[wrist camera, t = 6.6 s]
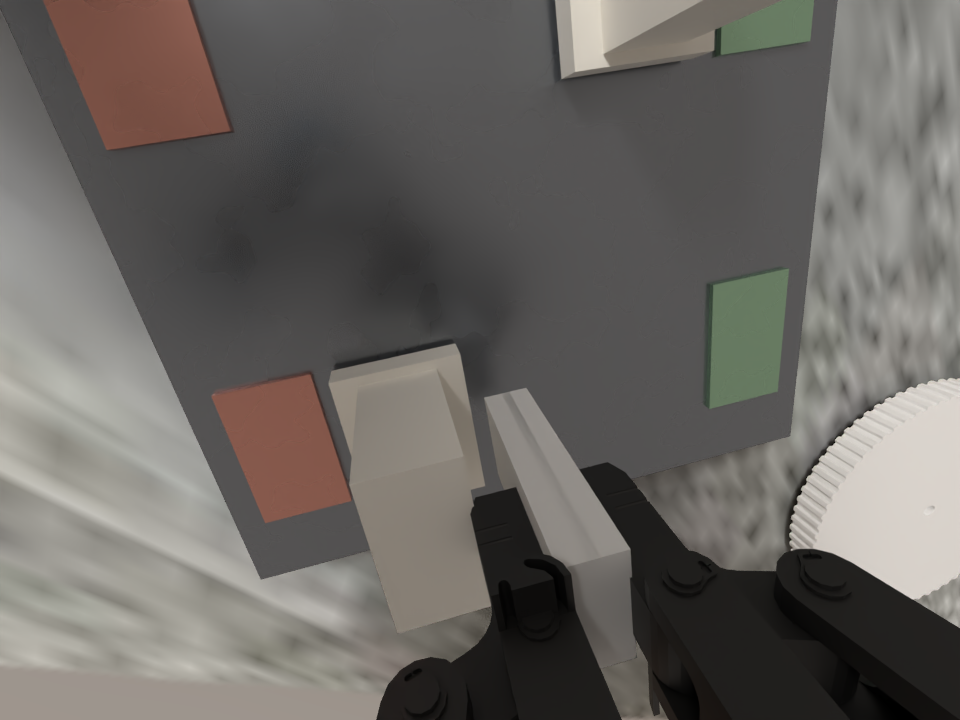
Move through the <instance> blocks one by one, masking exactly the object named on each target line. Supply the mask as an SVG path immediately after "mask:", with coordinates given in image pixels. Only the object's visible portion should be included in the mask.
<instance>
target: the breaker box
mask: <svg viewBox="0 0 960 720" xmlns="http://www.w3.org/2000/svg"><path fill="white" fill-rule="evenodd" d="M837 1H838V0H782V1H780V2H777V3H775V4H773V5H770V6H768V7H766V8H764V9H761V10H759V11H757V12H754V13H752V14H750V15H748V16H745V17H743V18H741V19H738V20H736V21H734V22H731V23H729V24H727V25H725V26H722V27H720V28H718V29H715V37H714V51H712V52H709V53H706V54H704V55H701V56H698V57H696V58H693V59H688V60H682V61H675V62H669V63H662V64H656V65H649V66H643V67H637V68H630V69H624V70H617V71H611V72H604V73H598V74H591V75H585V76H578V77H572V78H566V79H561V67H560V54H559V42H558V29H557V17H556V5H555V0H0V8H1V10H2V13H3V15H4V17H5V19H6V21H7V24H8V26H9V28H10V30H11V32H12V34H13V37H14V39H15V41H16V43H17V45H18V48H19V50H20V52H21V54H22V56H23V59H24V61H25V63H26V65H27V67H28V70H29V72H30V74H31V76H32V78H33V81H34V83H35V85H36V87H37V89H38V92H39V94H40V96H41V98H42V100H43V102H44V105H45V107H46V109H47V111H48V113H49V116H50V118H51V120H52V122H53V124H54V127H55V129H56V131H57V133H58V135H59V138H60V140H61V142H62V144H63V146H64V149H65V151H66V153H67V155H68V157H69V160H70V162H71V164H72V166H73V168H74V170H75V173H76V175H77V177H78V179H79V181H80V184H81V186H82V188H83V190H84V192H85V195H86V197H87V199H88V201H89V203H90V206H91V208H92V210H93V212H94V214H95V217H96V219H97V221H98V223H99V225H100V228H101V230H102V232H103V234H104V236H105V238H106V241H107V243H108V245H109V247H110V249H111V252H112V254H113V256H114V258H115V260H116V263H117V265H118V267H119V269H120V271H121V274H122V276H123V278H124V280H125V282H126V285H127V287H128V289H129V291H130V293H131V296H132V298H133V300H134V302H135V304H136V306H137V309H138V311H139V313H140V315H141V317H142V320H143V322H144V324H145V326H146V328H147V331H148V333H149V335H150V337H151V339H152V342H153V344H154V346H155V348H156V350H157V353H158V355H159V357H160V359H161V361H162V364H163V366H164V368H165V370H166V372H167V374H168V377H169V379H170V381H171V383H172V385H173V388H174V390H175V392H176V394H177V396H178V399H179V401H180V403H181V405H182V407H183V410H184V412H185V414H186V416H187V418H188V421H189V423H190V425H191V427H192V429H193V432H194V434H195V436H196V438H197V440H198V442H199V445H200V447H201V449H202V451H203V453H204V456H205V458H206V460H207V462H208V464H209V467H210V469H211V471H212V473H213V475H214V478H215V480H216V482H217V484H218V486H219V489H220V491H221V493H222V495H223V497H224V499H225V502H226V504H227V506H228V508H229V510H230V513H231V515H232V517H233V519H234V521H235V524H236V526H237V528H238V530H239V532H240V535H241V537H242V539H243V541H244V543H245V546H246V548H247V550H248V552H249V554H250V557H251V559H252V561H253V563H254V565H255V567H256V570H257V572H258V574H259V576H260V578H261V579H265V578H268V577H272V576H276V575H279V574H283V573H287V572H291V571H294V570H298V569H302V568H305V567H309V566H313V565H316V564H320V563H324V562H327V561H331V560H335V559H339V558H342V557H346V556H350V555H353V554H357V553H361V552H364V551H368V550H370V547H369V544H368V541H367V538H366V535H365V532H364V529H363V526H362V523H361V520H360V517H359V514H358V511H357V507H356V504H355V501H354V498H353V495H352V492H351V489H350V486H349V482H350V471H351V460H352V457H351V454H350V451H349V447H348V444H347V441H346V438H345V435H344V432H343V428H342V425H341V422H340V419H339V416H338V412H337V409H336V406H335V403H334V400H333V397H332V393H331V390H330V387H329V384H328V383H329V379H330V375H331V371H333V370H338V369H342V368H347V367H351V366H356V365H360V364H365V363H369V362H374V361H378V360H383V359H387V358H392V357H396V356H401V355H405V354H410V353H414V352H419V351H423V350H428V349H432V348H437V347H441V346H446V345H450V344H456V346H457V348H458V350H459V352H460V356H461V361H462V366H463V371H464V377H465V382H466V387H467V393H468V398H469V403H470V408H471V414H472V419H473V424H474V429H475V435H476V440H477V445H478V451H479V456H480V461H481V466H482V472H483V477H484V482H485V486H483V487H480V488H476V489H472V490H471V494H472V499H473V503H474V500H475V497H479V496H483V495H487V494H491V493H494V492H498V491H502V490H504V488H503V486H502V483H501V480H500V478H499V475H498V470H497V465H496V459H495V454H494V448H493V443H492V438H491V432H490V427H489V421H488V416H487V411H486V405H485V400H484V398H485V397H489V396H493V395H498V394H502V393H506V392H510V391H514V390H519V389H523V388H527V390H528V391H529V393H530V394H531V396H532V397H533V399H534V401H535V402H536V404H537V405H538V407H539V408H540V410H541V411H542V413H543V414H544V416H545V418H546V419H547V421H548V422H549V424H550V425H551V427H552V428H553V430H554V432H555V433H556V435H557V436H558V438H559V439H560V441H561V442H562V444H563V445H564V447H565V449H566V450H567V452H568V453H569V455H570V456H571V458H572V459H573V461H574V463H575V464H576V466H577V467H578V469H582V468H586V467H590V466H594V465H598V464H602V463H606V462H609V463H610V464H612V465H614V466H616V467H617V468H619V469H621V470H622V471H624V472H626V473H627V475H628V476H629V477H630V478H631V479H634V478H637V477H641V476H645V475H648V474H652V473H656V472H659V471H663V470H667V469H671V468H674V467H678V466H682V465H685V464H689V463H693V462H696V461H700V460H704V459H707V458H711V457H715V456H719V455H722V454H726V453H730V452H733V451H737V450H741V449H744V448H748V447H752V446H755V445H759V444H763V443H766V442H770V441H774V440H778V439H781V438H785V437H789V436H790V432H791V423H792V414H793V405H794V395H795V386H796V377H797V368H798V359H799V349H800V340H801V331H802V322H803V313H804V304H805V294H806V285H807V276H808V267H809V258H810V248H811V239H812V230H813V221H814V212H815V203H816V193H817V184H818V175H819V166H820V157H821V147H822V138H823V129H824V120H825V111H826V102H827V92H828V83H829V74H830V65H831V56H832V46H833V37H834V28H835V19H836V10H837Z"/></svg>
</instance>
